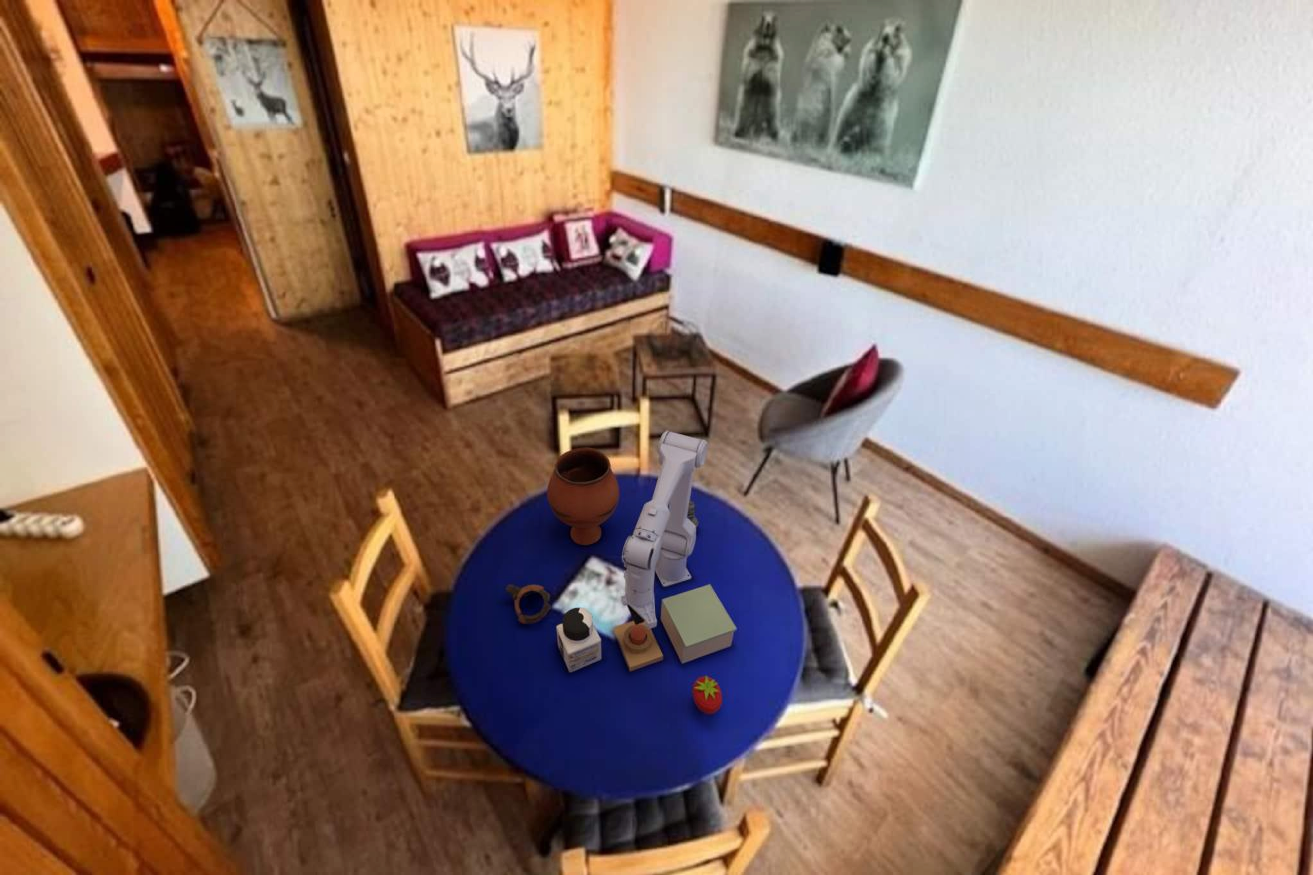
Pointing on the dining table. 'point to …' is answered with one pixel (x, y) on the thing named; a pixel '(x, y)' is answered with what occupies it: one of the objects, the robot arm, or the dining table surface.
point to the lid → (698, 616)
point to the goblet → (583, 492)
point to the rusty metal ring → (526, 590)
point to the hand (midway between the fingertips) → (638, 621)
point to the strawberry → (707, 695)
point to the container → (578, 639)
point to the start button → (637, 635)
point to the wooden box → (698, 649)
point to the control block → (637, 646)
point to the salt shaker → (692, 513)
